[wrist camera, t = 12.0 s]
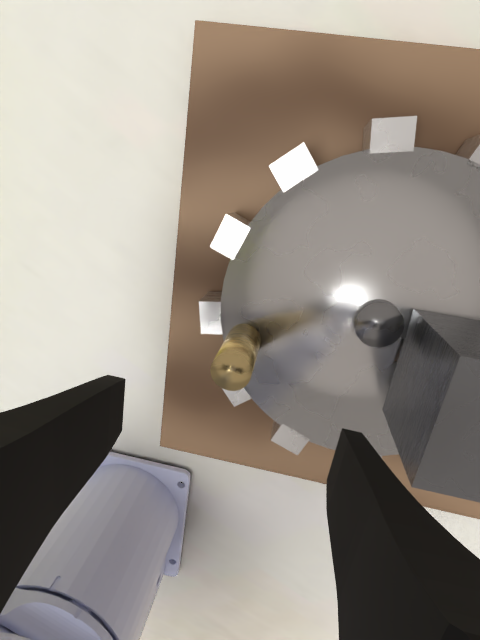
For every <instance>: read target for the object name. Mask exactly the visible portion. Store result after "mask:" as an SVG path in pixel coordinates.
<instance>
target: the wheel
mask: <svg viewBox="0 0 480 640" xmlns="http://www.w3.org/2000/svg"><path fill="white" fill-rule="evenodd" d="M416 123H417V116H405V117H390V118H374V119H371V120H370V121H369V123H368V124H367V125H366V126H365V127H364V133H363V148H362V151H359V152H356V153H352V154H348V155H344V156H341V157H338V158H336V159H333V160H331V161H328V162H326V163H323V164H321V165H319V166H316V164H315V162H314V160H313V158H312V156H311V155H310V153H309V151H308V149H307V147H306V145H305V143H304V142H303V143H302V144H300V145H299V146H297V147H296V148H294V149H293V150H291V151H290V152H288V153H287V154H285V155H284V156H283V157H281V158H280V159H278V160H277V161H275V162H274V163H272V164H271V165H269V167H270V169H271V171H272V172H273V174H274V176H275V178H276V180H277V181H278V183H279V185H280V187H281V190H280V191H279V192H278V193H277V194H276V195H275V196H274V197H272V198H271V199H270V200H269V201H268V202H267V203H266V204H265V205H264V206H263V207H262V208H261V210H260V211H259V212H258V213H257V215H256V216H255V217H254V218H253V220H252V221H251V222H250V221H249V220H247V219H245V218H243V217H242V216H240V215H238V214H236V213H235V212H233V213H229V214H226V215H225V217H224V219H223V221H222V223H221V225H220V227H219V229H218V232H217V234H216V236H215V238H214V240H213V242H212V244H211V246H210V247H211V248H212V249H214V250H216V251H218V252H220V253H221V254H223V255H225V256H227V257H228V258H230V261H229V264H228V268H227V271H226V275H225V278H224V283H223V289H222V291H209V292H208V293H207V294H206V295H205V296H204V297H203V298H202V299H201V300H200V301H199V312H200V327H201V334H222V335H223V340H224V342H223V344H222V346H221V348H220V350H219V351H218V353H217V355H216V357H215V359H214V360H213V362H212V365H211V369H210V372H211V376H212V379H213V381H214V382H215V383H216V384H217V385H218V386H219V387H221V388H222V389H223V391H224V392H225V394H226V395H227V397H228V398H229V400H230V401H231V403H232V404H233V406H234V407H235V406H237V405H239V404H241V403H243V402H245V401H248V400H250V399H252V400H253V401H254V402H255V403H256V404H257V405H258V406H259V407H260V408H261V409H262V410H263V411H264V412H265V413H266V414H267V415H268V416H269V417H271V418H272V419H273V426H272V433H271V441H273V442H274V443H276V444H278V445H280V446H282V447H283V448H285V449H287V450H289V451H290V452H292V453H294V454H296V455H298V454H299V453H300V452H301V450H302V449H303V448H304V446H305V445H306V444H307V443H308V441H309V442H312V443H314V444H317V445H320V446H323V447H325V448H328V449H333V450H336V447H337V443H338V440H339V437H340V433H341V430H342V428H344V429H348V430H353V431H357V432H362V434H363V435H364V436H365V437H366V438H367V440H368V441H369V442H370V444H371V445H372V446H373V448H374V449H375V450H376V451H377V453H378V454H379V455H380V457H381V458H382V456H386V455H398V454H399V453H398V450H397V447H396V445H395V442H394V439H393V437H392V434H391V431H390V429H389V426H388V423H387V421H386V418H385V415H384V413H383V410H382V408H383V405H384V402H385V399H386V396H387V393H388V389H389V386H390V383H391V380H392V377H393V373H394V370H395V367H396V364H397V361H398V357H399V354H400V351H401V348H402V345H403V341H404V338H405V335H406V332H407V329H408V325H409V322H410V319H411V316H412V313H413V309H417V310H423V311H429V312H434V313H440V314H446V315H451V316H457V317H463V318H468V319H474V320H480V135H478V136H475V137H472V138H469V139H467V140H465V142H464V143H463V145H462V146H461V147H460V149H459V150H458V152H457V153H456V155H454V154H451V153H447V152H444V151H439V150H433V149H427V148H420V147H414V142H415V133H416Z"/></svg>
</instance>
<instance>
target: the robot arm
mask: <svg viewBox="0 0 480 640" xmlns="http://www.w3.org/2000/svg"><path fill="white" fill-rule="evenodd" d="M124 391H125V379H124V378H119V377H115V376H110V375H107V376H103V377H100V378H97V379H95V380H92V381H89V382H87V383H84V384H82V385H79V386H77V387H74V388H71V389H69V390H66V391H64V392H61V393H58V394H56V395H53V396H50V397H48V398H45V399H42V400H39V401H36V402H33V403H30V404H27V405H24V406H21V407H18V408H15V409H12V410H8V411H5V412H1V413H0V640H139V639H140V636H141V634H142V631H143V628H144V626H145V623H146V620H147V617H148V615H149V612H150V609H151V607H152V604H153V601H154V598H155V596H156V593H157V590H158V588H159V585H160V582H161V580H162V577H163V574H165V575H168V576H176V575H178V572H179V569H180V561H181V553H182V544H183V536H184V528H185V520H186V511H187V503H188V495H189V486H190V478H191V476H190V473H189V472H188V471H187V470H185V469H182V468H178V467H174V466H169V465H165V464H161V463H157V462H152V461H148V460H144V459H139V458H135V457H131V456H127V455H122V454H118V453H114V452H110V450H111V449H112V447H113V445H114V444H115V442H116V440H117V438H118V437H119V435H120V433H121V431H122V422H123V406H124ZM180 482H183V483H184V484H182V483H180ZM327 518H328V526H329V534H330V542H331V549H332V557H333V565H334V572H335V580H336V588H337V600H338V622H339V640H480V559H479V558H477V557H476V556H475V555H474V554H473V553H471V552H470V551H469V550H468V549H467V548H466V547H464V546H463V545H462V544H461V543H460V542H459V541H458V540H457V539H455V538H454V537H453V536H452V535H451V534H450V533H449V532H448V531H447V530H446V529H445V528H444V527H443V526H442V525H441V524H440V523H439V522H438V521H436V520H435V519H434V518H433V517H432V516H431V515H430V514H429V513H428V512H427V511H426V509H425V508H424V507H423V506H422V505H421V504H420V503H419V502H418V501H417V500H416V499H415V498H414V496H413V495H412V494H411V493H410V492H409V491H408V490H407V489H406V487H405V486H404V485H403V484H402V483H401V482H400V480H399V479H398V478H397V477H396V476H395V474H394V473H393V472H392V471H391V469H390V468H389V467H388V466H387V464H386V463H385V462H384V461H383V459H382V458H381V457H380V455H379V454H378V453H377V451H376V450H375V449H374V448H373V446H372V445H371V444H370V442H369V441H368V440H367V438H366V437H365V436H364V435H363V434H362V432H357V431H353V430H348V429H344V428H342V430H341V433H340V437H339V440H338V443H337V447H336V450H335V453H334V457H333V460H332V464H331V467H330V470H329V474H328V477H327Z"/></svg>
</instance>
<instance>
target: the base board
mask: <svg viewBox="0 0 480 640" xmlns="http://www.w3.org/2000/svg"><path fill="white" fill-rule="evenodd" d="M405 116H417V123H416V133H415V142H414V147H420V148H427V149H433V150H439V151H444V152H447V153H451V154H454V155H456V153H457V152H458V150H459V149H460V147H461V146H462V145H463V143H464V142H465V140H467V139H469V138H472V137H475V136H478V135H480V49H472V48H462V47H452V46H442V45H432V44H423V43H413V42H403V41H393V40H384V39H374V38H364V37H354V36H344V35H335V34H325V33H315V32H305V31H296V30H286V29H276V28H266V27H256V26H247V25H237V24H227V23H217V22H207V21H198V20H195V31H194V43H193V55H192V67H191V79H190V91H189V103H188V115H187V127H186V139H185V151H184V163H183V175H182V187H181V199H180V211H179V223H178V235H177V247H176V259H175V271H174V283H173V295H172V307H171V320H170V332H169V344H168V356H167V368H166V380H165V392H164V404H163V416H162V428H161V440H160V446H162V447H167V448H171V449H176V450H180V451H184V452H189V453H193V454H197V455H202V456H206V457H210V458H215V459H219V460H224V461H228V462H232V463H237V464H241V465H245V466H250V467H254V468H258V469H263V470H267V471H272V472H276V473H280V474H285V475H289V476H293V477H298V478H302V479H306V480H311V481H315V482H320V483H324V484H327V477H328V474H329V470H330V467H331V464H332V460H333V457H334V453H335V450H333V449H328V448H325V447H323V446H320V445H317V444H314V443H312V442H309V441H308V443H307V444H306V445H305V446H304V448H303V449H302V450H301V452H300V453H299V454H298V455H296V454H294V453H292V452H290V451H289V450H287V449H285V448H283V447H282V446H280V445H278V444H276V443H274V442H273V441H271V433H272V426H273V419H272V418H271V417H269V416H268V415H267V414H266V413H265V412H264V411H263V410H262V409H261V408H260V407H259V406H258V405H257V404H256V403H255V402H254V401H253V400H252V399H250V400H248V401H245V402H243V403H241V404H239V405H237V406H235V407H234V406H233V404H232V403H231V401H230V400H229V398H228V397H227V395H226V394H225V392H224V391H223V389H222V388H221V387H219V386H218V385H217V384H216V383H215V382H214V381H213V379H212V376H211V372H210V369H211V365H212V362H213V360H214V359H215V357H216V355H217V353H218V351H219V350H220V348H221V346H222V344H223V342H224V340H223V335H222V334H201V327H200V312H199V301H200V300H201V299H202V298H203V297H204V296H205V295H206V294H207V293H208V292H209V291H222V289H223V283H224V278H225V275H226V271H227V268H228V264H229V261H230V258H228V257H227V256H225V255H223V254H221V253H220V252H218V251H216V250H214V249H212V248H211V247H210V246H211V244H212V242H213V240H214V238H215V236H216V234H217V232H218V229H219V227H220V225H221V223H222V221H223V219H224V217H225V215H226V214H229V213H233V212H235V213H236V214H238V215H240V216H242V217H243V218H245V219H247V220H249V221H250V222H251V221H252V220H253V218H254V217H255V216H256V215H257V213H258V212H259V211H260V210H261V208H262V207H263V206H264V205H265V204H266V203H267V202H268V201H269V200H270V199H271V198H272V197H274V196H275V195H276V194H277V193H278V192H279V191H280V190H281V187H280V185H279V183H278V181H277V180H276V178H275V176H274V174H273V172H272V171H271V169H270V167H269V165H271V164H272V163H274V162H275V161H277V160H278V159H280V158H281V157H283V156H284V155H285V154H287V153H288V152H290V151H291V150H293V149H294V148H296V147H297V146H299V145H300V144H302V143H303V142H304V143H305V145H306V147H307V149H308V151H309V153H310V155H311V156H312V158H313V160H314V162H315V164H316V166H319V165H321V164H323V163H326V162H328V161H331V160H333V159H336V158H338V157H341V156H344V155H348V154H352V153H356V152H359V151H362V148H363V133H364V127H365V126H366V125H367V124H368V123H369V121H370V120H371V119H374V118H390V117H405ZM382 459H383V461H384V462H385V463H386V464H387V466H388V467H389V468H390V469H391V471H392V472H393V473H394V474H395V476H396V477H397V478H398V479H399V480H400V482H401V483H402V484H403V485H404V486H405V487H406V489H407V490H408V491H409V492H410V493H411V494H412V495H413V496H414V498H415V499H416V500H417V501H418V502H419V503H420V504H421V505H422V506H424V507H429V508H433V509H437V510H442V511H446V512H451V513H455V514H459V515H464V516H468V517H472V518H477V519H480V503H479V502H475V501H470V500H466V499H462V498H457V497H453V496H448V495H444V494H439V493H435V492H431V491H426V490H422V489H417V488H413V487H411V485H410V482H409V479H408V477H407V474H406V471H405V469H404V466H403V463H402V461H401V458H400V455H399V454H398V455H386V456H382Z"/></svg>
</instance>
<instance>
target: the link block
mask: <svg viewBox="0 0 480 640" xmlns="http://www.w3.org/2000/svg"><path fill="white" fill-rule="evenodd" d="M382 410H383V413H384V415H385V418H386V421H387V423H388V426H389V429H390V431H391V434H392V437H393V439H394V442H395V445H396V447H397V450H398V453H399V455H400V458H401V461H402V463H403V466H404V469H405V471H406V474H407V477H408V479H409V482H410V485H411V487H413V488H417V489H422V490H426V491H431V492H435V493H439V494H444V495H448V496H453V497H457V498H462V499H466V500H470V501H475V502H479V503H480V320H474V319H468V318H463V317H457V316H451V315H446V314H440V313H434V312H429V311H423V310H417V309H413V313H412V316H411V319H410V322H409V325H408V329H407V332H406V335H405V338H404V341H403V345H402V348H401V351H400V354H399V357H398V361H397V364H396V367H395V370H394V373H393V377H392V380H391V383H390V386H389V389H388V393H387V396H386V399H385V402H384V405H383V408H382Z"/></svg>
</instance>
